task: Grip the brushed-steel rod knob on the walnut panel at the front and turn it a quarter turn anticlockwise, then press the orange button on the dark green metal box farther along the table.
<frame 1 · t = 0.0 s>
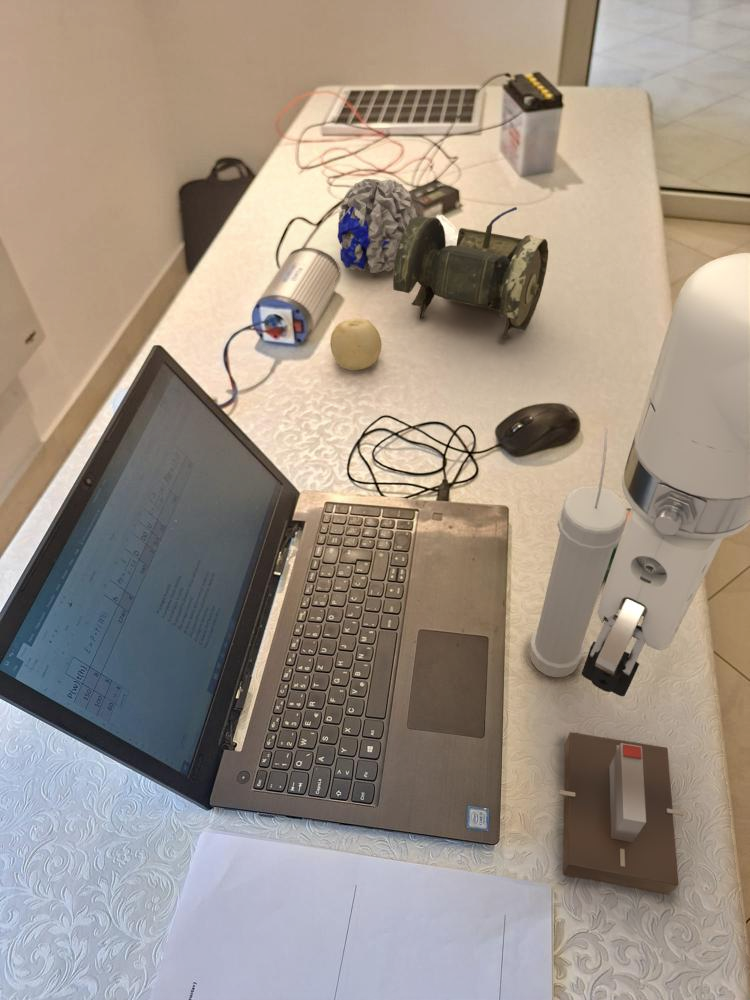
hand: (629, 633, 54), 22 cm above the table, tool pointing down, fingers open, 9 cm apart
rod knob: (626, 791, 63), point 6 cm above the table, hinge at 0.0°
educational model: (378, 257, 136), on the table
button: (621, 525, 84), point 4 cm above the table, slide at 0.1 cm
apple: (357, 362, 115), on the table
bench grinder: (474, 316, 122), on the table
bird figurine: (448, 253, 136), on the table
button box: (613, 549, 88), on the table
panel: (613, 814, 67), on the table
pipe: (553, 654, 78), on the table
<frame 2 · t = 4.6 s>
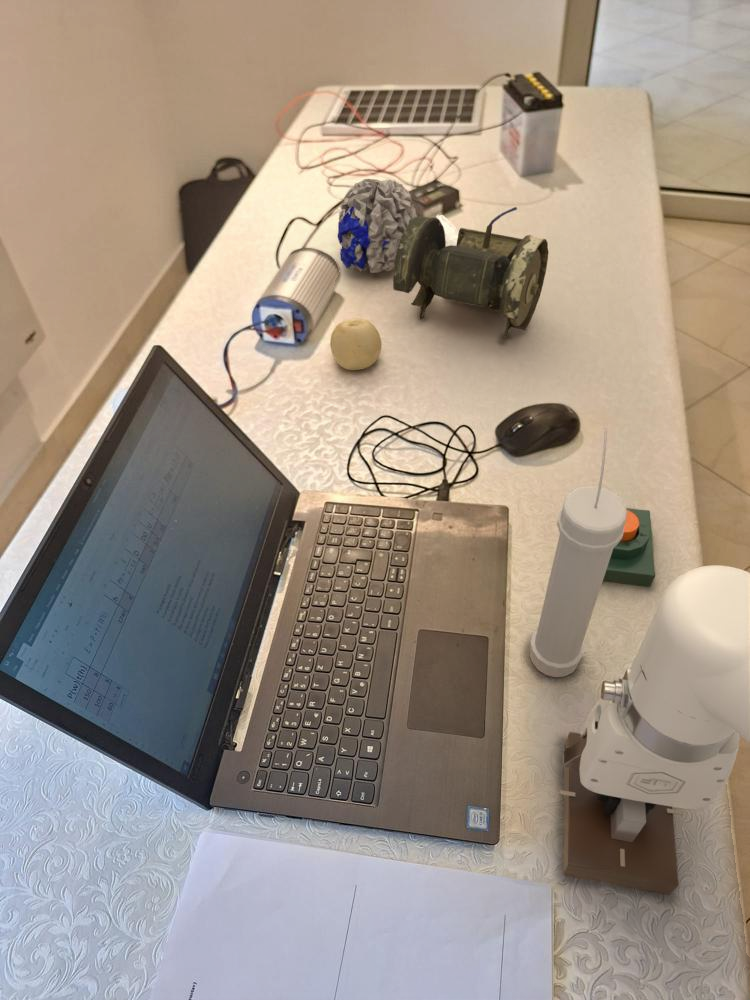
hand: (621, 800, 64), 4 cm above the table, tool pointing down, fingers closed on rod knob, 2 cm apart
rod knob: (626, 791, 63), point 6 cm above the table, hinge at 0.0°, touching gripper
everything else where it was.
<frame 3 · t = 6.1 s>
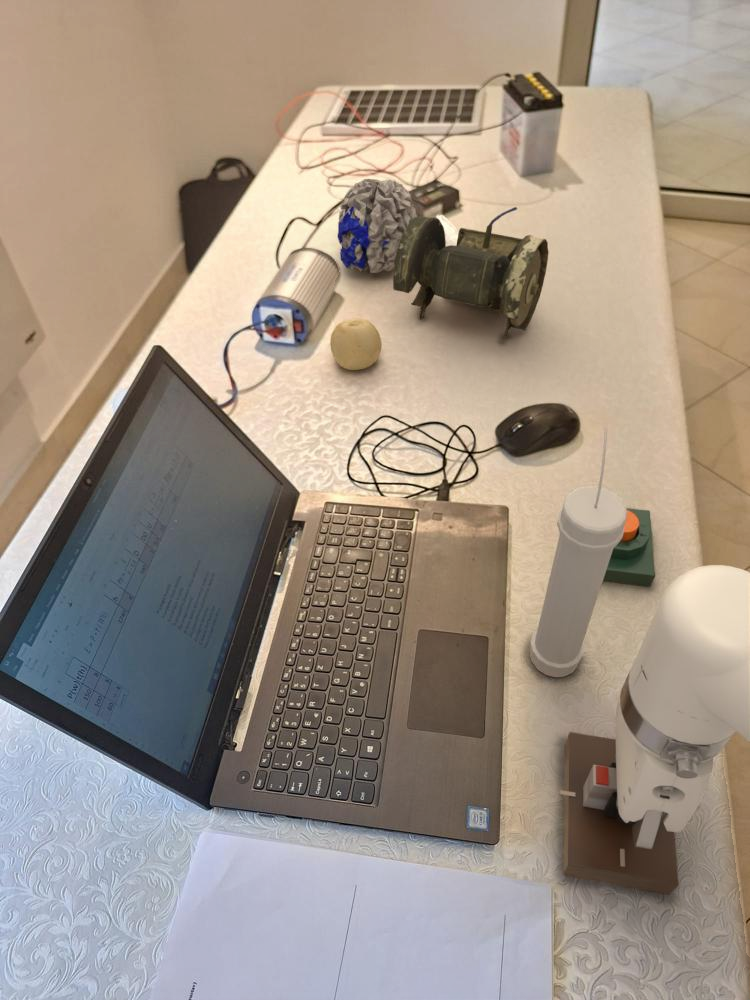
hand: (622, 800, 64), 4 cm above the table, tool pointing down, fingers closed on rod knob, 2 cm apart
rod knob: (626, 791, 63), point 6 cm above the table, hinge at 90.0°, touching gripper
everything else where it was.
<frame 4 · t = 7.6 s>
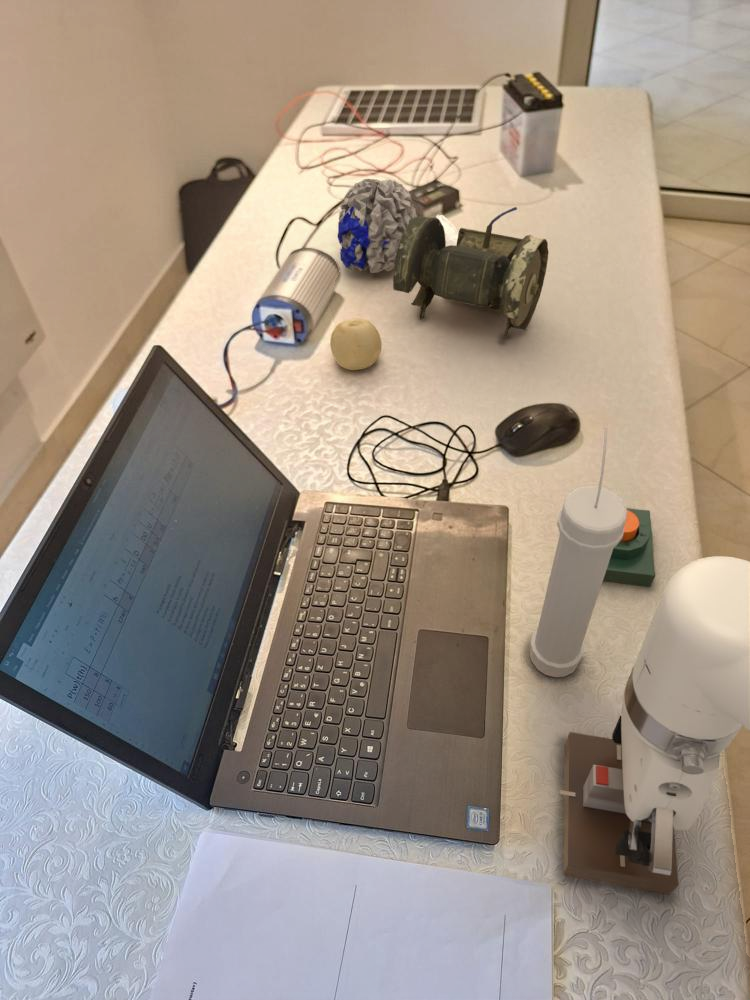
hand: (632, 794, 62), 6 cm above the table, tool pointing down, fingers open, 9 cm apart
rod knob: (626, 791, 63), point 6 cm above the table, hinge at 90.0°
everything else where it was.
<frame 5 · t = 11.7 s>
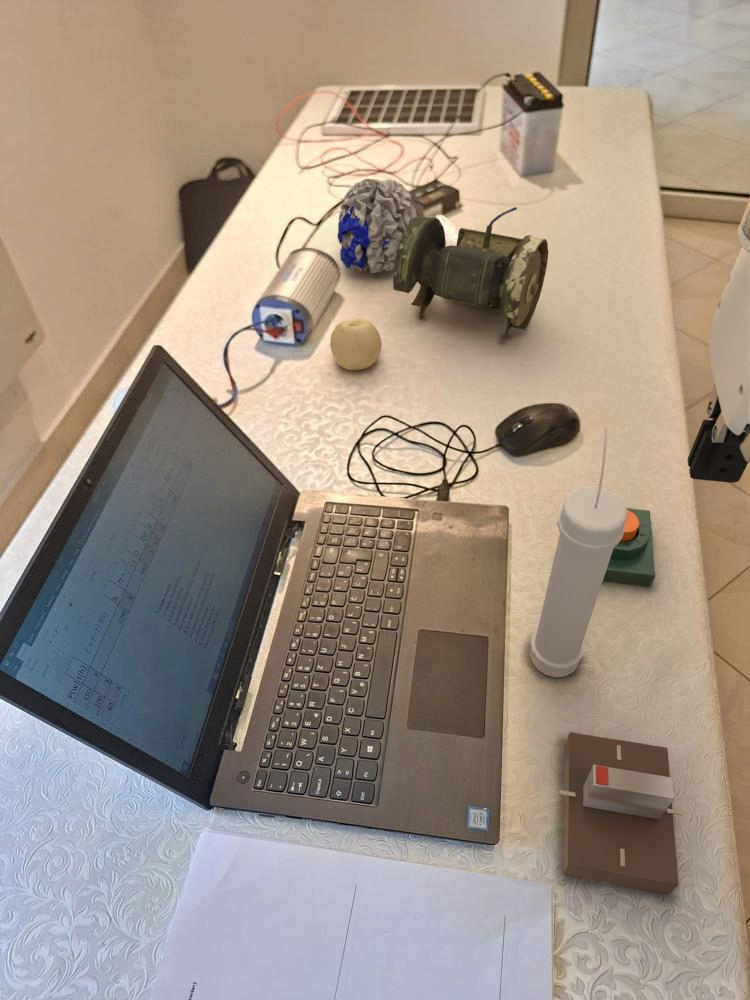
hand: (711, 472, 50), 34 cm above the table, tool pointing down, fingers closed
nothing on the table moved.
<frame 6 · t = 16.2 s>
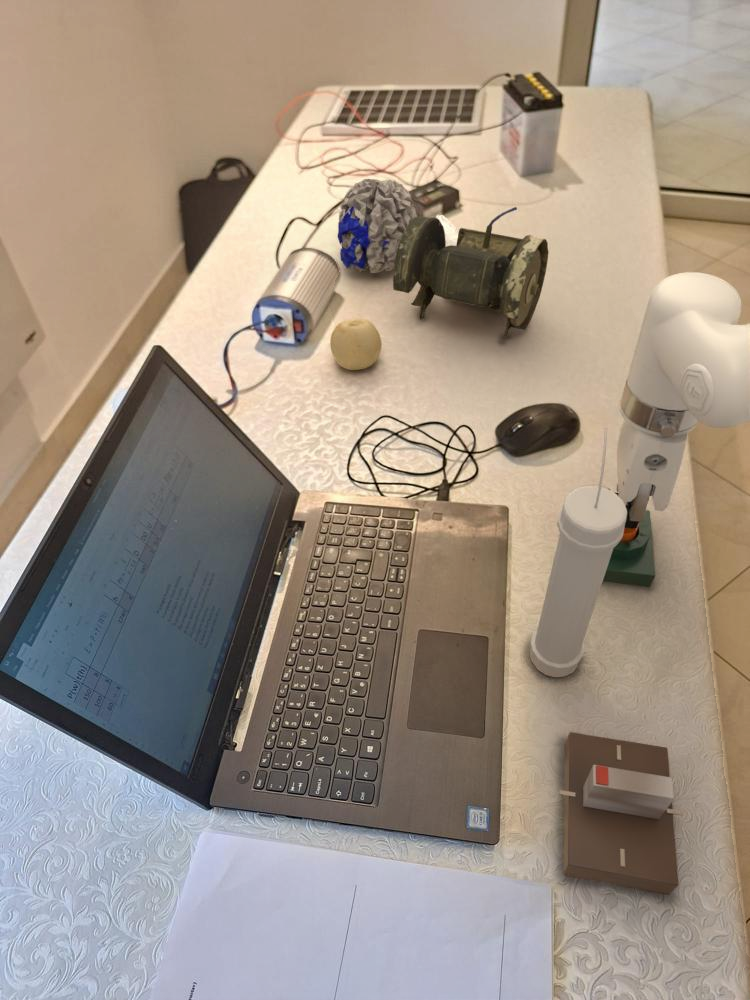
hand: (621, 521, 84), 5 cm above the table, tool pointing down, fingers closed
button: (620, 527, 85), point 4 cm above the table, slide at -0.3 cm, touching gripper
everything else where it was.
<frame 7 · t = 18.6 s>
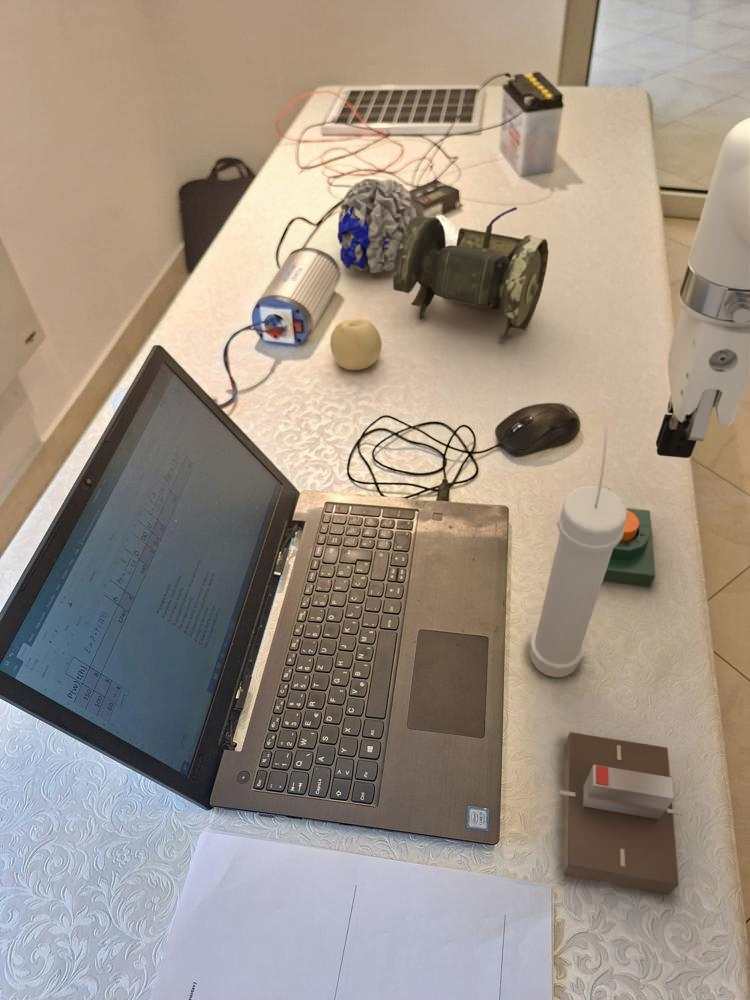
hand: (672, 451, 72), 19 cm above the table, tool pointing down, fingers closed
button: (621, 525, 84), point 4 cm above the table, slide at 0.1 cm
everything else where it was.
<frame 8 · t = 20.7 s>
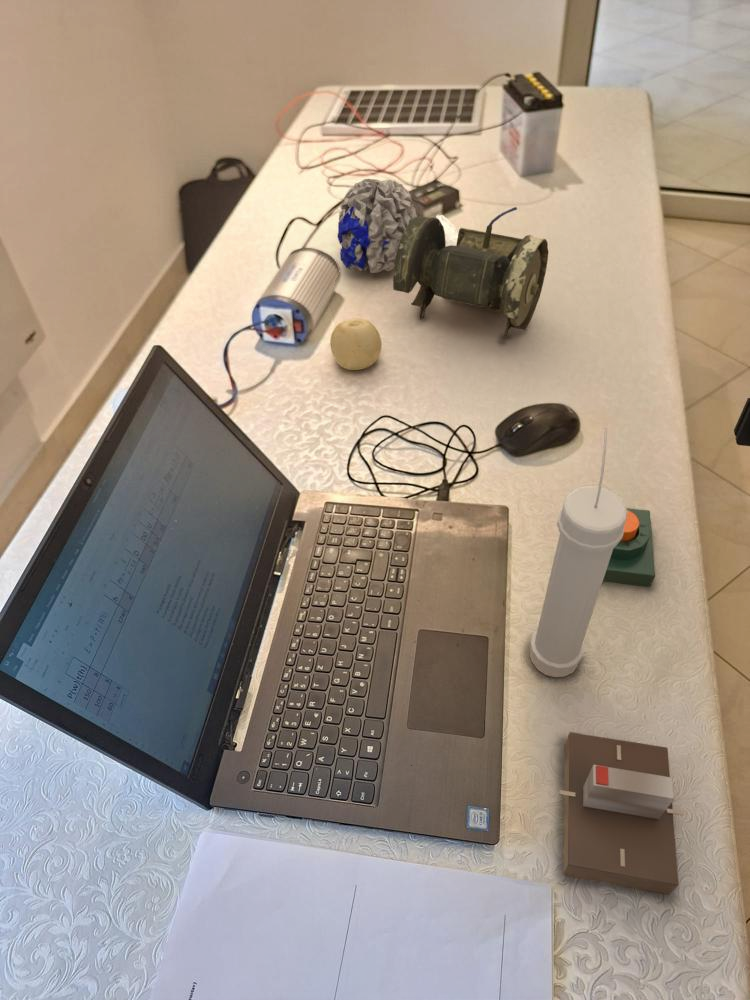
nothing on the table moved.
at the end: rod knob at +90° (first picture: +0°); button pushed in 1.0 cm at the most during the clip, back to where it started at the end; button slide at 0.1 cm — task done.
